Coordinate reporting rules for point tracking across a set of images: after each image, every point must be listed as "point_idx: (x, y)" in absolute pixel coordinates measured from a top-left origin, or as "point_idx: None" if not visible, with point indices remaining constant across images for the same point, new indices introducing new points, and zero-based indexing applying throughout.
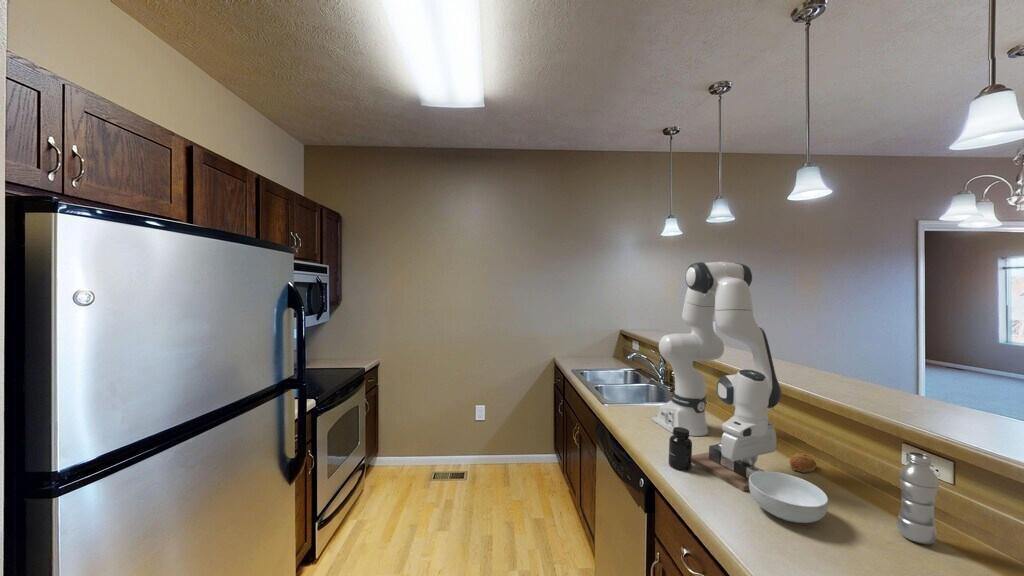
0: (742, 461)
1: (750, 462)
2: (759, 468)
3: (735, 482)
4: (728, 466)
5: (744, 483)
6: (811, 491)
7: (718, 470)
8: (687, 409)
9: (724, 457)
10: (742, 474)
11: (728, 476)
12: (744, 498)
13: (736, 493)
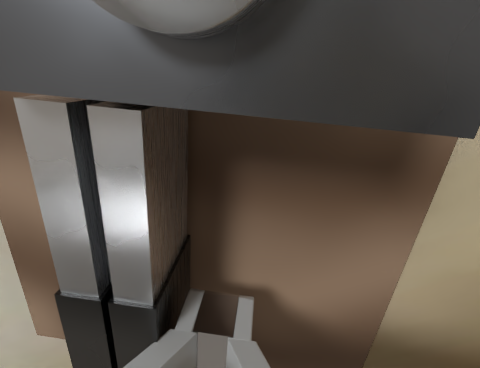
0: (148, 336)
1: (230, 366)
2: (392, 285)
3: (28, 292)
4: None
5: None
6: None
7: (14, 149)
8: None
9: (38, 164)
10: None
11: (27, 242)
12: (19, 333)
13: (11, 301)
